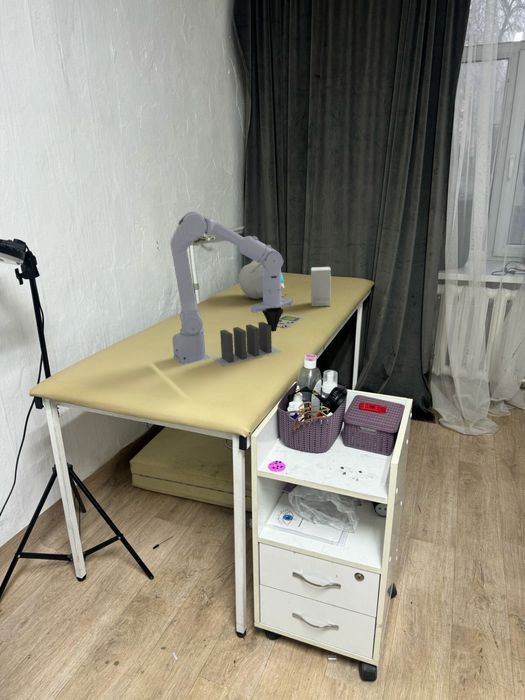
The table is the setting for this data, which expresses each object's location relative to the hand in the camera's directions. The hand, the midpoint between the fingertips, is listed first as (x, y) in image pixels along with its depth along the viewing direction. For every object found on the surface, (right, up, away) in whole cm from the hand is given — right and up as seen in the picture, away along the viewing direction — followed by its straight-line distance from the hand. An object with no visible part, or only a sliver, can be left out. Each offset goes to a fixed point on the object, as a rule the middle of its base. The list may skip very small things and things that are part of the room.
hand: (272, 330), depth 153 cm
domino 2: (-10, -8, -3) cm, 14 cm away
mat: (-8, -8, -2) cm, 12 cm away
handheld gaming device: (+6, +4, +32) cm, 32 cm away
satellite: (-3, +17, +64) cm, 66 cm away
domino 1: (-14, -9, -6) cm, 18 cm away
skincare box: (+22, +13, +52) cm, 58 cm away
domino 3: (-6, -7, -1) cm, 10 cm away
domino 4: (-2, -7, +1) cm, 7 cm away
